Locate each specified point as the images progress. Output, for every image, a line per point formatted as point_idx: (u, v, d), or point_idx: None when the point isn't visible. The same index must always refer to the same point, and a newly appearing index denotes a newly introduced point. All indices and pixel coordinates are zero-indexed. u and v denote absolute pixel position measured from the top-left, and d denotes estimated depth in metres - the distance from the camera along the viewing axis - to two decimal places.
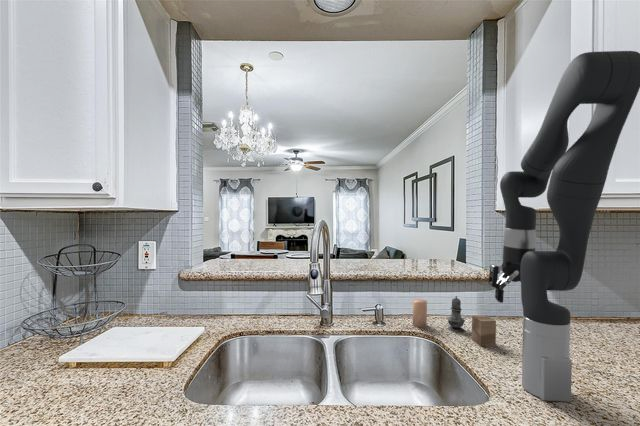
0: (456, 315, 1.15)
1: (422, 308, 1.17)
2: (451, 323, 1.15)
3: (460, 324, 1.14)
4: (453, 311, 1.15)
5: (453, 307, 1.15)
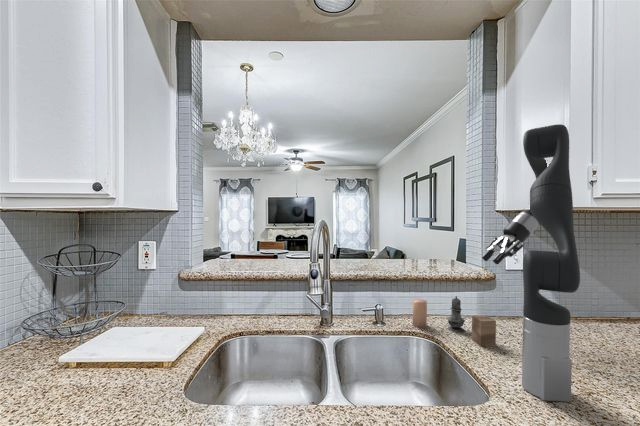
0: (455, 315, 1.15)
1: (422, 308, 1.17)
2: (451, 323, 1.15)
3: (460, 324, 1.14)
4: (453, 311, 1.15)
5: (453, 307, 1.15)
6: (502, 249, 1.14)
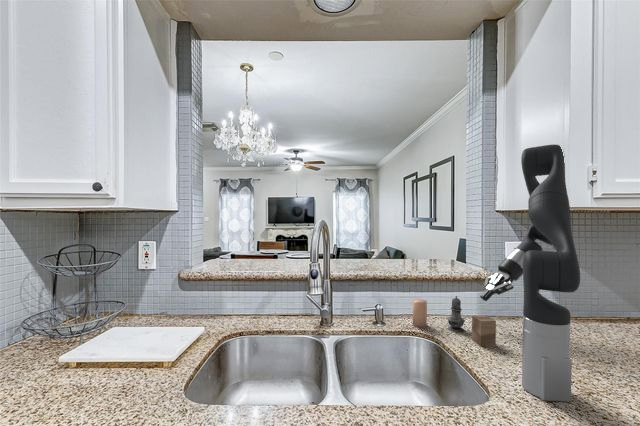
0: (456, 315, 1.15)
1: (422, 308, 1.17)
2: (451, 323, 1.15)
3: (460, 324, 1.14)
4: (453, 311, 1.15)
5: (453, 307, 1.15)
6: (492, 286, 1.16)
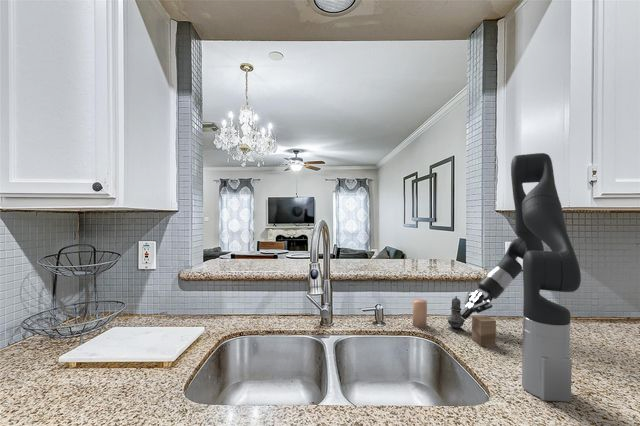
0: (455, 315, 1.15)
1: (422, 308, 1.17)
2: (451, 323, 1.15)
3: (460, 324, 1.14)
4: (453, 311, 1.15)
5: (453, 307, 1.15)
6: (471, 304, 1.16)
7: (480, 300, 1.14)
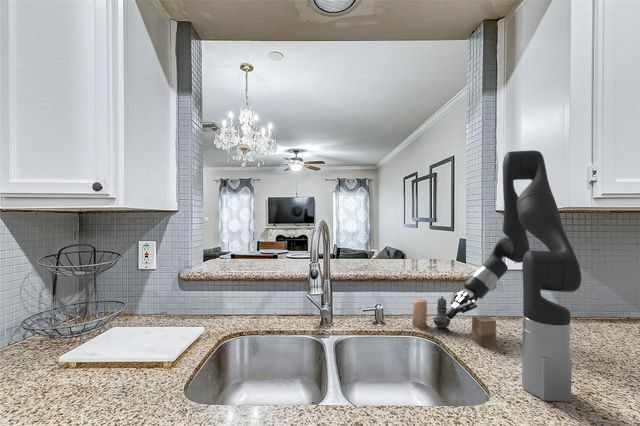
0: (441, 315, 1.14)
1: (422, 308, 1.17)
2: (437, 323, 1.15)
3: (446, 324, 1.13)
4: (439, 311, 1.15)
5: (439, 307, 1.15)
6: (457, 304, 1.15)
7: (465, 300, 1.14)
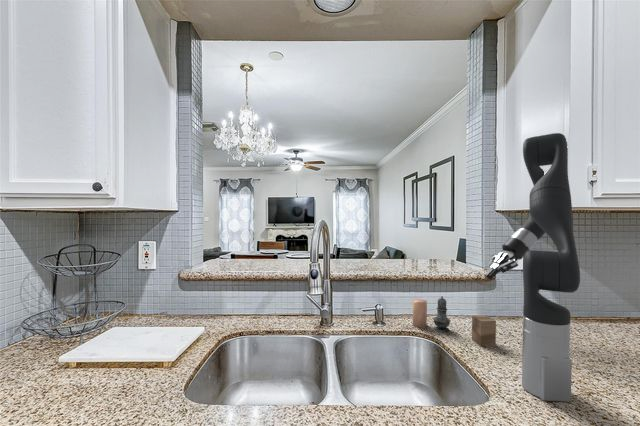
0: (441, 315, 1.14)
1: (422, 308, 1.17)
2: (437, 323, 1.15)
3: (446, 324, 1.13)
4: (439, 311, 1.15)
5: (439, 307, 1.15)
6: (496, 265, 1.16)
7: (505, 260, 1.15)
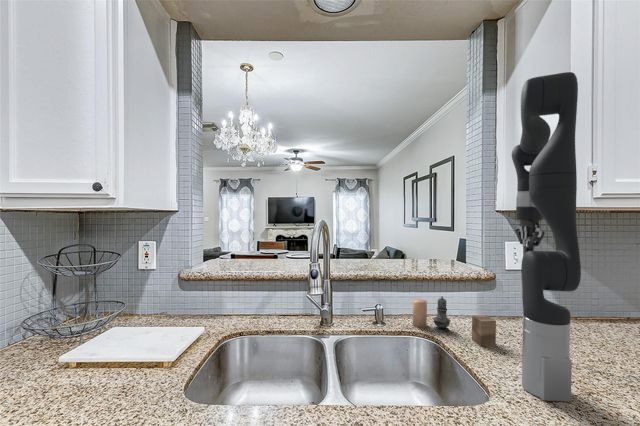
0: (441, 315, 1.14)
1: (422, 308, 1.17)
2: (437, 323, 1.15)
3: (446, 324, 1.13)
4: (439, 311, 1.15)
5: (439, 307, 1.15)
6: (526, 242, 1.05)
7: (530, 233, 1.04)
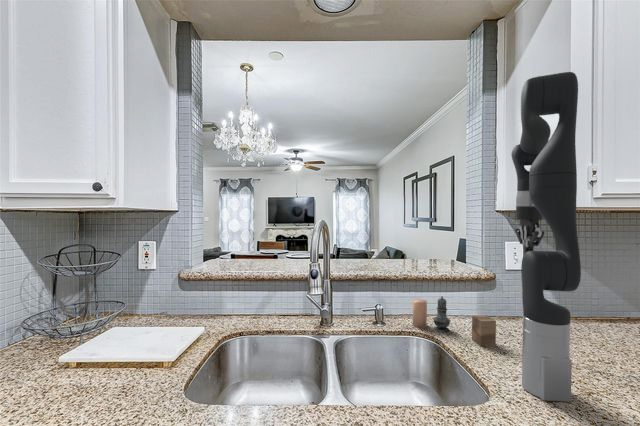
0: (441, 315, 1.14)
1: (422, 308, 1.17)
2: (437, 323, 1.15)
3: (446, 324, 1.13)
4: (439, 311, 1.15)
5: (439, 307, 1.15)
6: (526, 242, 1.05)
7: (530, 233, 1.04)
